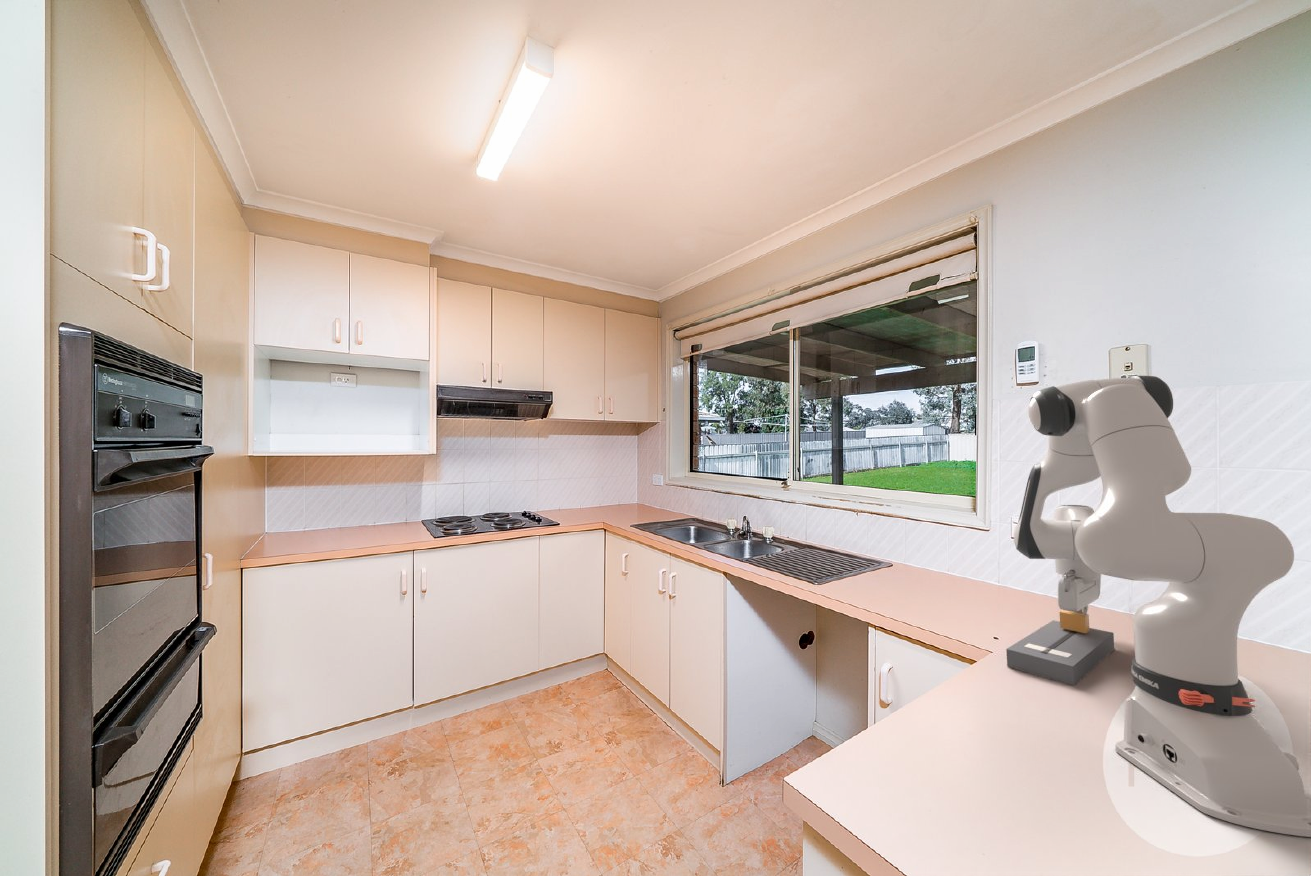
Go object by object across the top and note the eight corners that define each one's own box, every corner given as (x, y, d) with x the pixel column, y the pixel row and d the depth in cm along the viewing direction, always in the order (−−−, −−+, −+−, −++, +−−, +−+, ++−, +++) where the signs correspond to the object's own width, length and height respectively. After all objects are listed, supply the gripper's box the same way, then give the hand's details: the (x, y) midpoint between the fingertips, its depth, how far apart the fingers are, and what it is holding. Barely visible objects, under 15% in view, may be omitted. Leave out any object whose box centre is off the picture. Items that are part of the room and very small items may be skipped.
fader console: (1074, 685, 102) (1072, 665, 102) (1007, 666, 112) (1006, 648, 112) (1114, 649, 120) (1113, 632, 120) (1054, 635, 130) (1053, 619, 130)
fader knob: (1085, 633, 119) (1085, 616, 119) (1060, 627, 123) (1059, 611, 123) (1089, 630, 121) (1088, 614, 121) (1064, 625, 125) (1063, 609, 125)
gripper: (1081, 576, 116) (1084, 634, 116) (1104, 564, 128) (1108, 617, 127) (1048, 571, 121) (1051, 627, 121) (1074, 560, 133) (1077, 611, 133)
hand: (1080, 622), depth 124 cm, fingers closed
